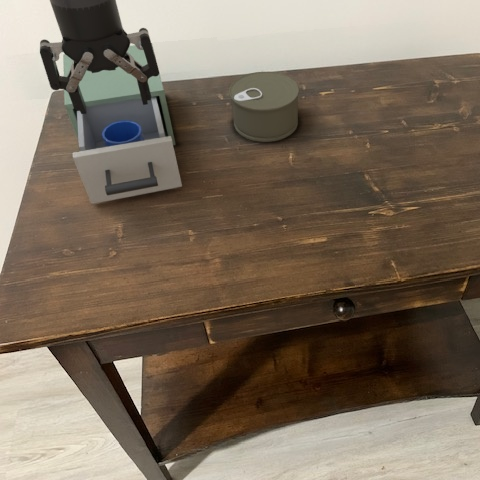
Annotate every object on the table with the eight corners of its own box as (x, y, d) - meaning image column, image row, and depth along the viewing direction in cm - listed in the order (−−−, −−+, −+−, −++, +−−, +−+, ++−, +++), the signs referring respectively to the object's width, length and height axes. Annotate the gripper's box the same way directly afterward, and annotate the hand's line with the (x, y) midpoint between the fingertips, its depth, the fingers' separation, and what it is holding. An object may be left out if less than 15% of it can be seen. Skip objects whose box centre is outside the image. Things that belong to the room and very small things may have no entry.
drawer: (187, 207, 80) (177, 161, 74) (92, 226, 77) (73, 180, 70) (169, 132, 92) (159, 87, 86) (87, 146, 89) (70, 100, 83)
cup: (114, 178, 82) (103, 146, 78) (111, 156, 86) (101, 124, 81) (151, 171, 84) (143, 139, 79) (147, 149, 87) (139, 117, 83)
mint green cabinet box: (175, 145, 92) (163, 89, 84) (85, 160, 88) (64, 104, 80) (163, 96, 102) (151, 42, 94) (82, 108, 98) (63, 54, 90)
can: (311, 130, 96) (311, 96, 91) (251, 150, 91) (248, 116, 86) (279, 97, 102) (277, 65, 97) (222, 115, 98) (217, 82, 93)
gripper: (16, 12, 61) (63, 129, 73) (143, -2, 64) (168, 112, 76) (19, -14, 66) (62, 100, 78) (137, -26, 69) (161, 85, 81)
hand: (115, 106), depth 77 cm, fingers open, 8 cm apart
